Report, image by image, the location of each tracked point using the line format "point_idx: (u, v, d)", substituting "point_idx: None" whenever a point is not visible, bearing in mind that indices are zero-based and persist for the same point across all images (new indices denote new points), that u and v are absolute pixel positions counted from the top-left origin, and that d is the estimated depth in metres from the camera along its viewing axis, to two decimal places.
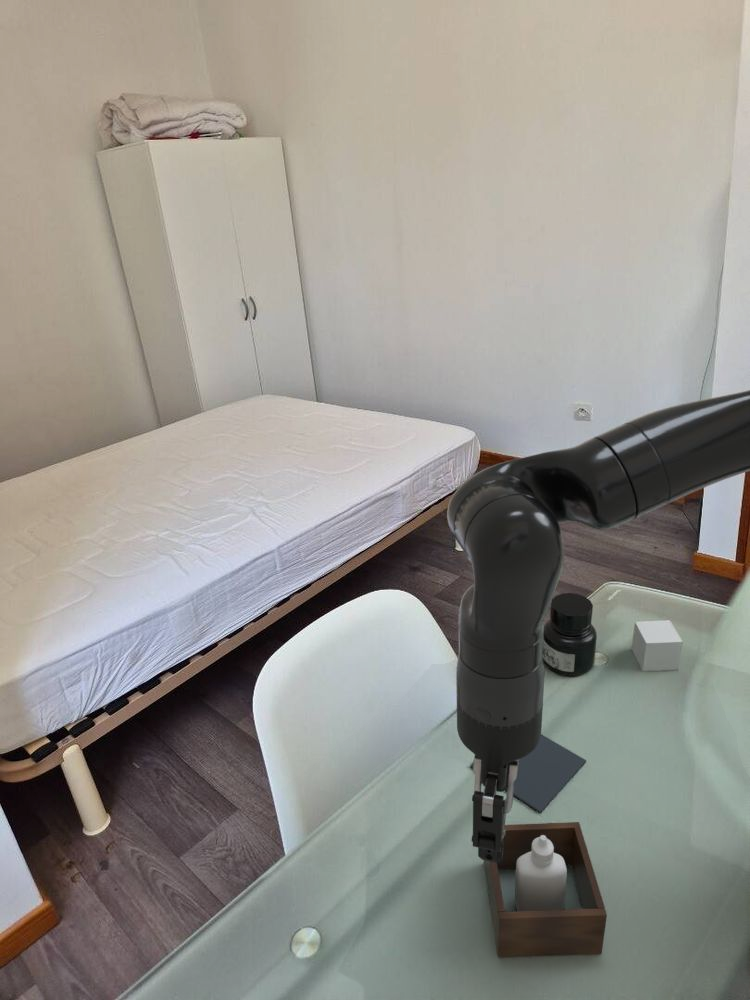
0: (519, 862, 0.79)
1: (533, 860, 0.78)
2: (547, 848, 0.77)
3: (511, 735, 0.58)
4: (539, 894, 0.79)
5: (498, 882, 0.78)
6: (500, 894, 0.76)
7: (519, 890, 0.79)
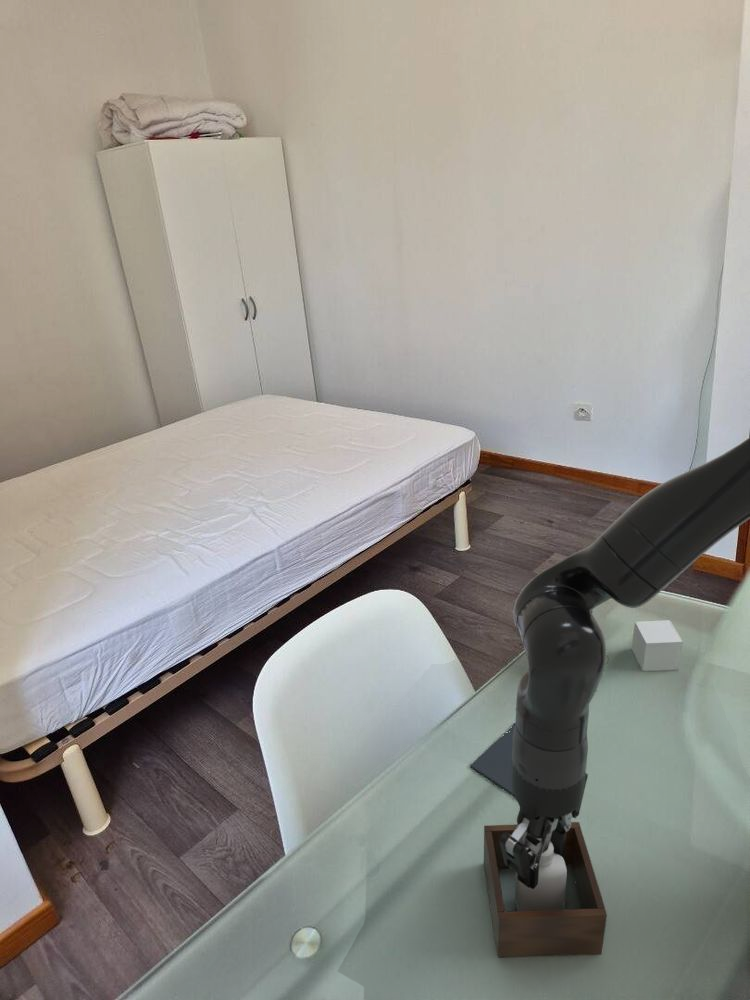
0: None
1: None
2: None
3: (541, 795, 0.69)
4: (539, 894, 0.79)
5: (498, 882, 0.78)
6: (500, 894, 0.76)
7: (519, 890, 0.79)
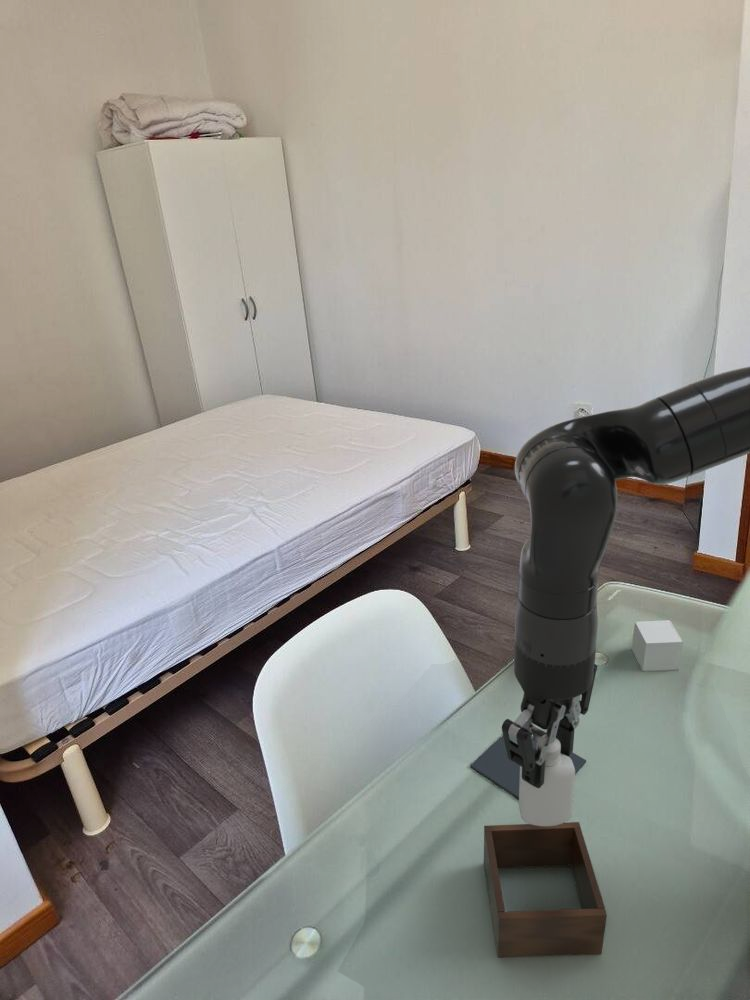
0: None
1: None
2: (553, 745, 0.71)
3: (547, 673, 0.63)
4: (545, 797, 0.72)
5: (498, 882, 0.78)
6: (500, 894, 0.76)
7: (523, 794, 0.73)
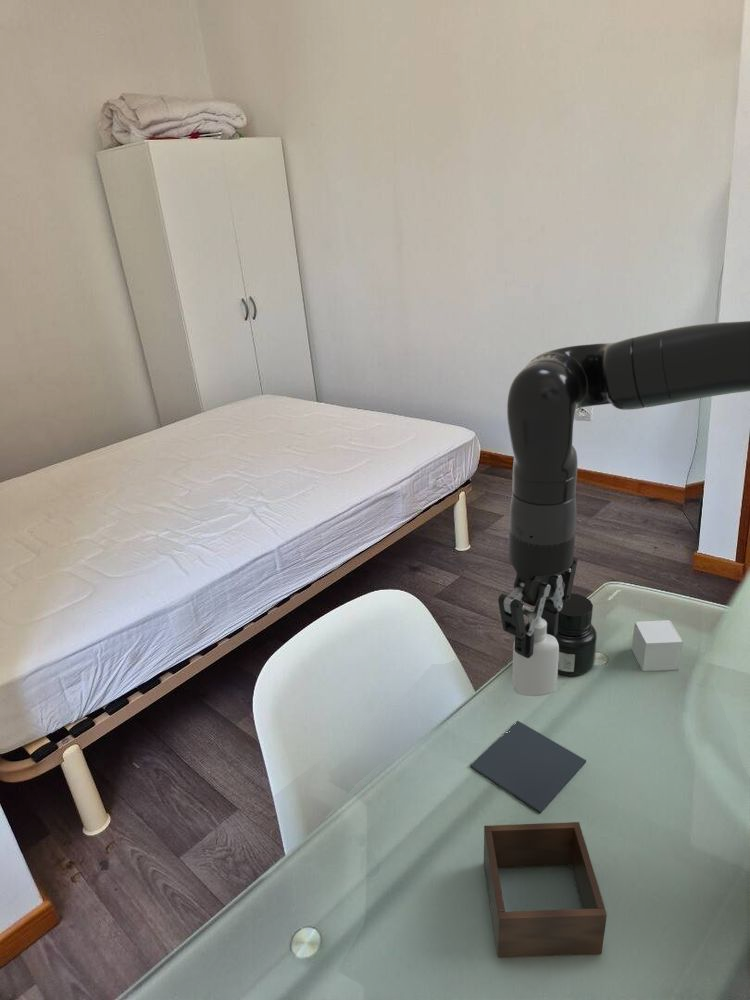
0: None
1: None
2: (541, 623, 0.85)
3: (535, 552, 0.77)
4: (534, 669, 0.87)
5: (498, 882, 0.78)
6: (500, 894, 0.76)
7: (516, 667, 0.88)
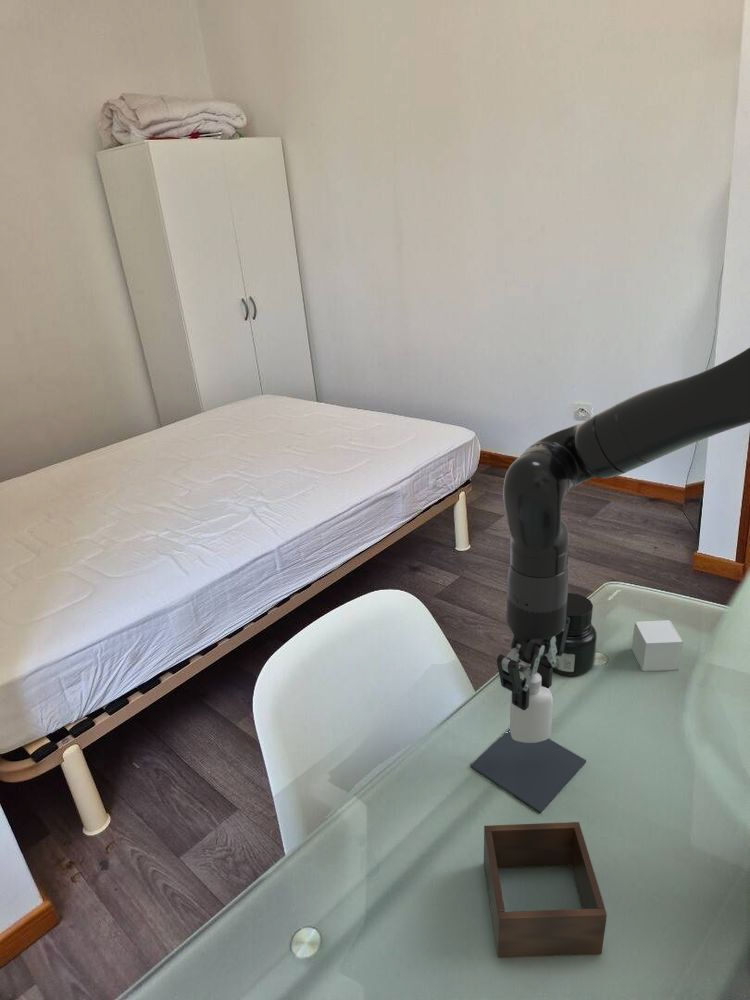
0: None
1: None
2: (536, 677, 0.93)
3: (531, 618, 0.85)
4: (529, 718, 0.95)
5: (498, 882, 0.78)
6: (500, 894, 0.76)
7: (513, 716, 0.96)
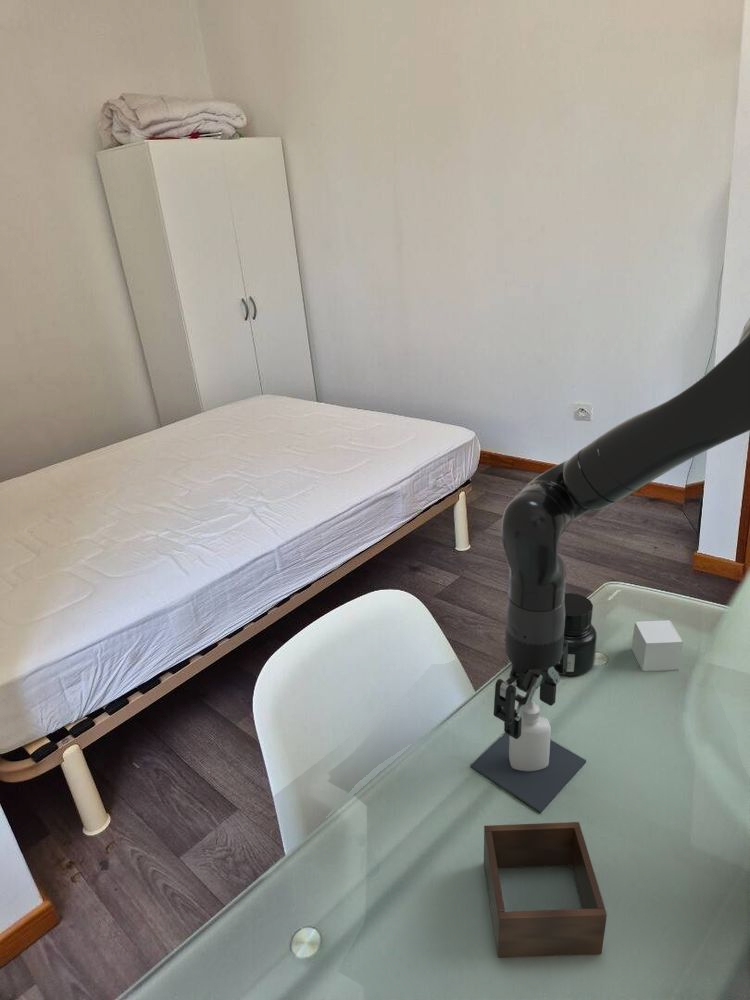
0: None
1: (523, 720, 0.96)
2: (534, 708, 0.95)
3: (529, 650, 0.87)
4: (528, 748, 0.97)
5: (498, 882, 0.78)
6: (500, 894, 0.76)
7: (512, 746, 0.98)
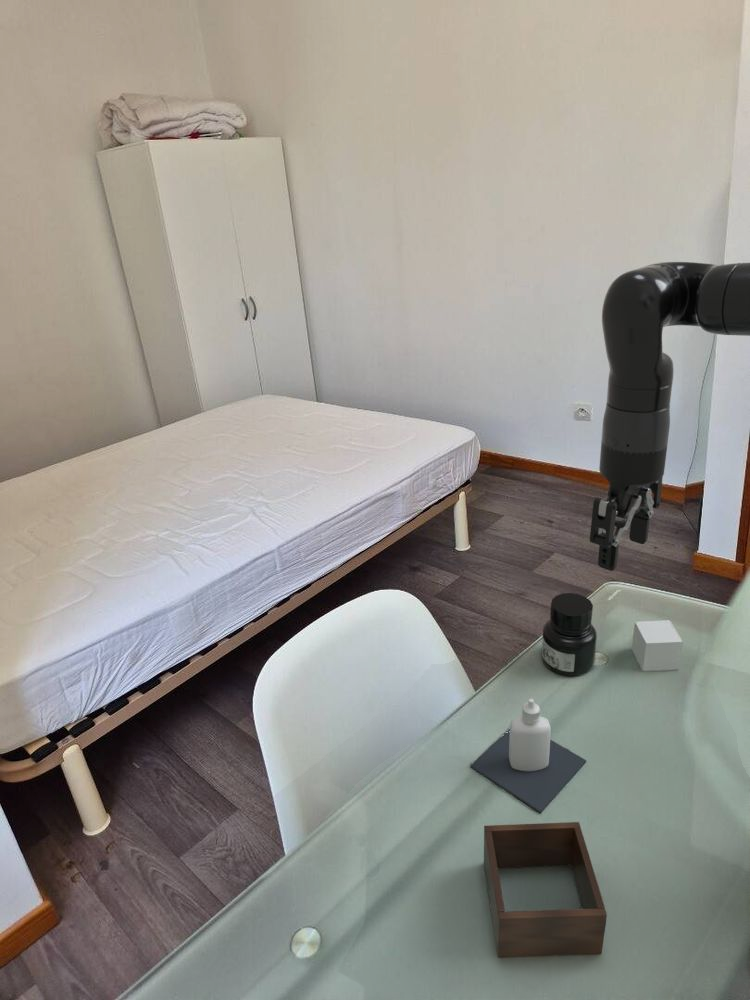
0: (512, 723, 0.98)
1: (523, 720, 0.96)
2: (534, 708, 0.95)
3: (631, 461, 0.80)
4: (528, 748, 0.97)
5: (498, 882, 0.78)
6: (500, 894, 0.76)
7: (512, 746, 0.98)
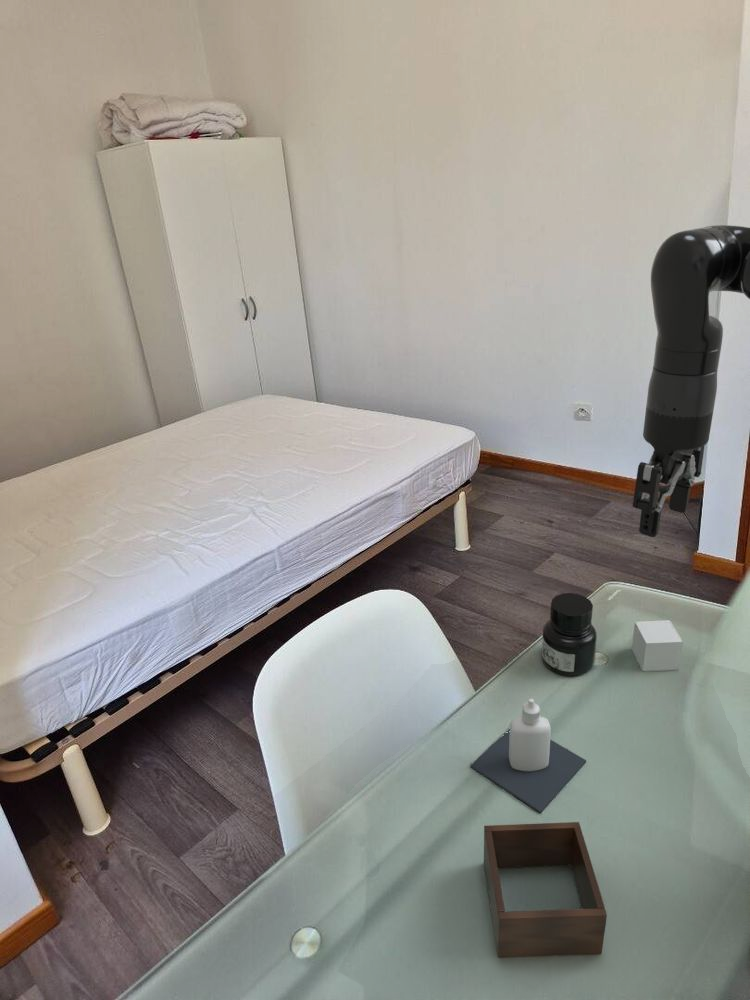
0: (512, 723, 0.98)
1: (523, 719, 0.96)
2: (534, 708, 0.95)
3: (677, 425, 0.80)
4: (528, 748, 0.97)
5: (498, 882, 0.78)
6: (500, 894, 0.76)
7: (512, 746, 0.98)
